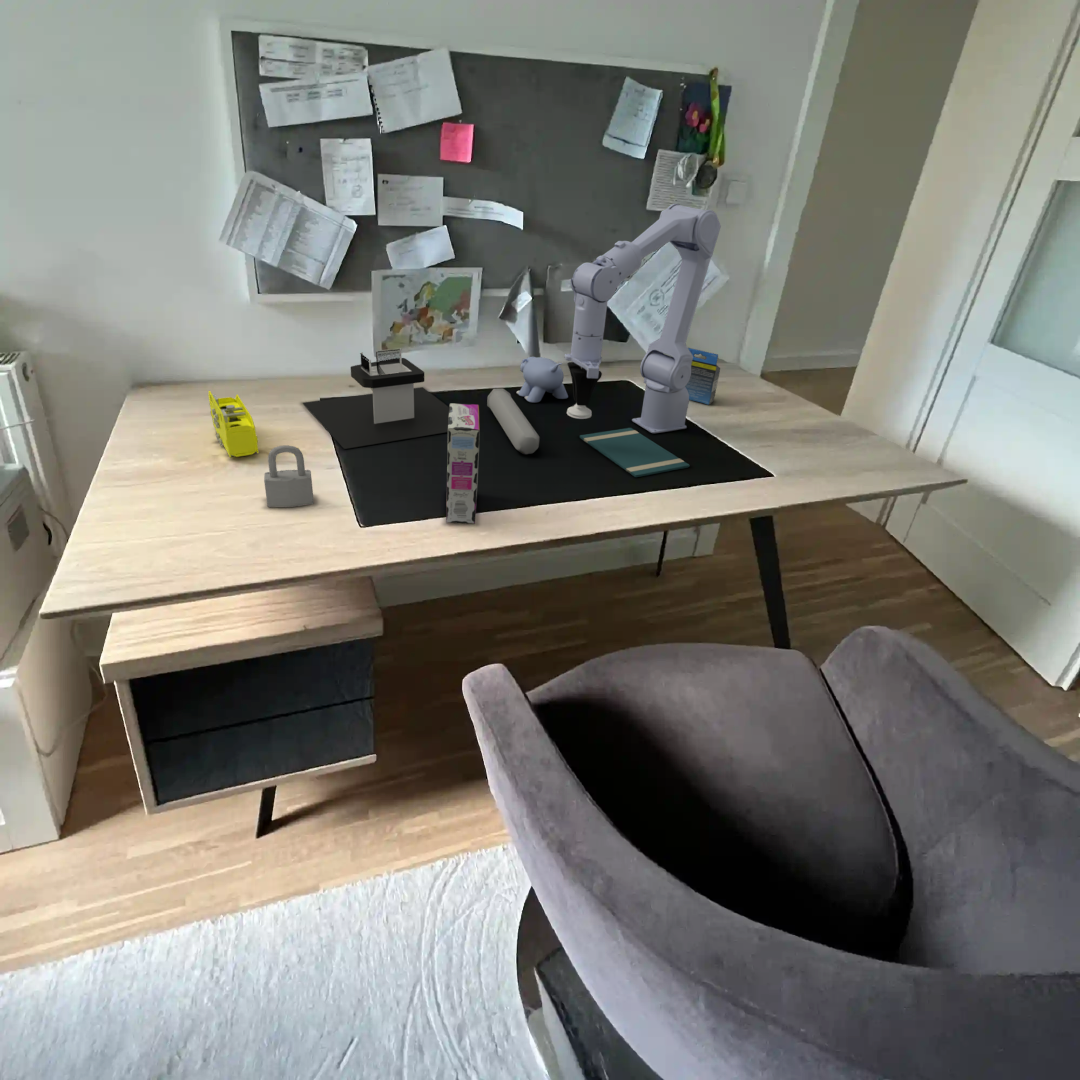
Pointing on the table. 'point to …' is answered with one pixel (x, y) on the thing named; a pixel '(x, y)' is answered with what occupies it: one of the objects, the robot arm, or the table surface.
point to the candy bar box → (462, 463)
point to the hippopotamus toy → (541, 379)
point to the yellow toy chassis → (233, 425)
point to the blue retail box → (703, 377)
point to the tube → (513, 421)
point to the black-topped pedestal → (382, 405)
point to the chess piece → (579, 411)
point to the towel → (634, 452)
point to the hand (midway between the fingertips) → (580, 402)
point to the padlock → (288, 481)
